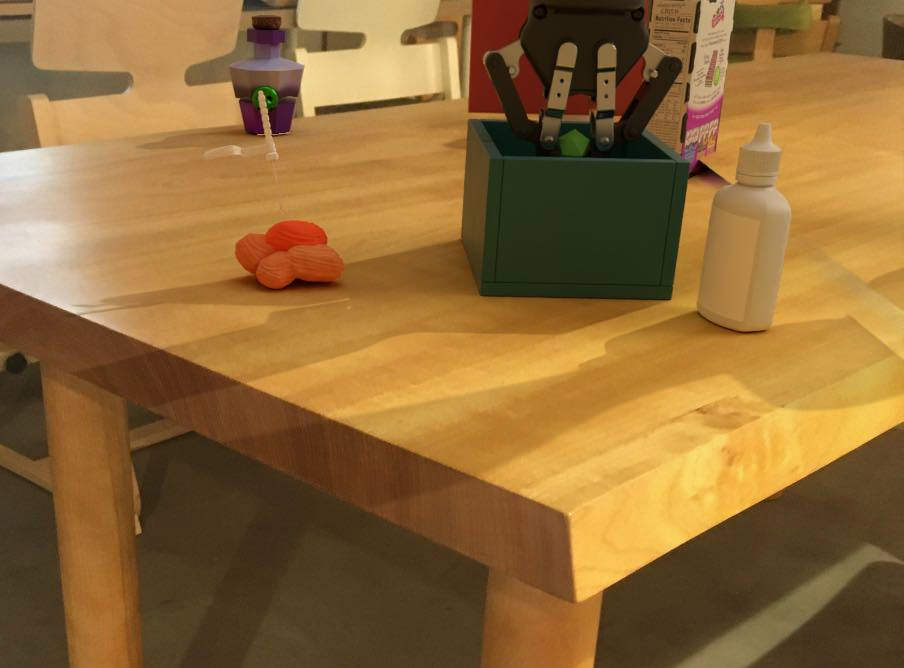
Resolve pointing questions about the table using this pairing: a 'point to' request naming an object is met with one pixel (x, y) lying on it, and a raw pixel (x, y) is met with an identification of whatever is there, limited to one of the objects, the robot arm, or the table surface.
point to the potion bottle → (266, 78)
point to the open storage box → (571, 216)
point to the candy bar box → (692, 73)
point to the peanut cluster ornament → (282, 233)
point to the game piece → (573, 144)
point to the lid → (523, 63)
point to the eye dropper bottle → (746, 241)
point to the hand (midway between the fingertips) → (567, 202)
